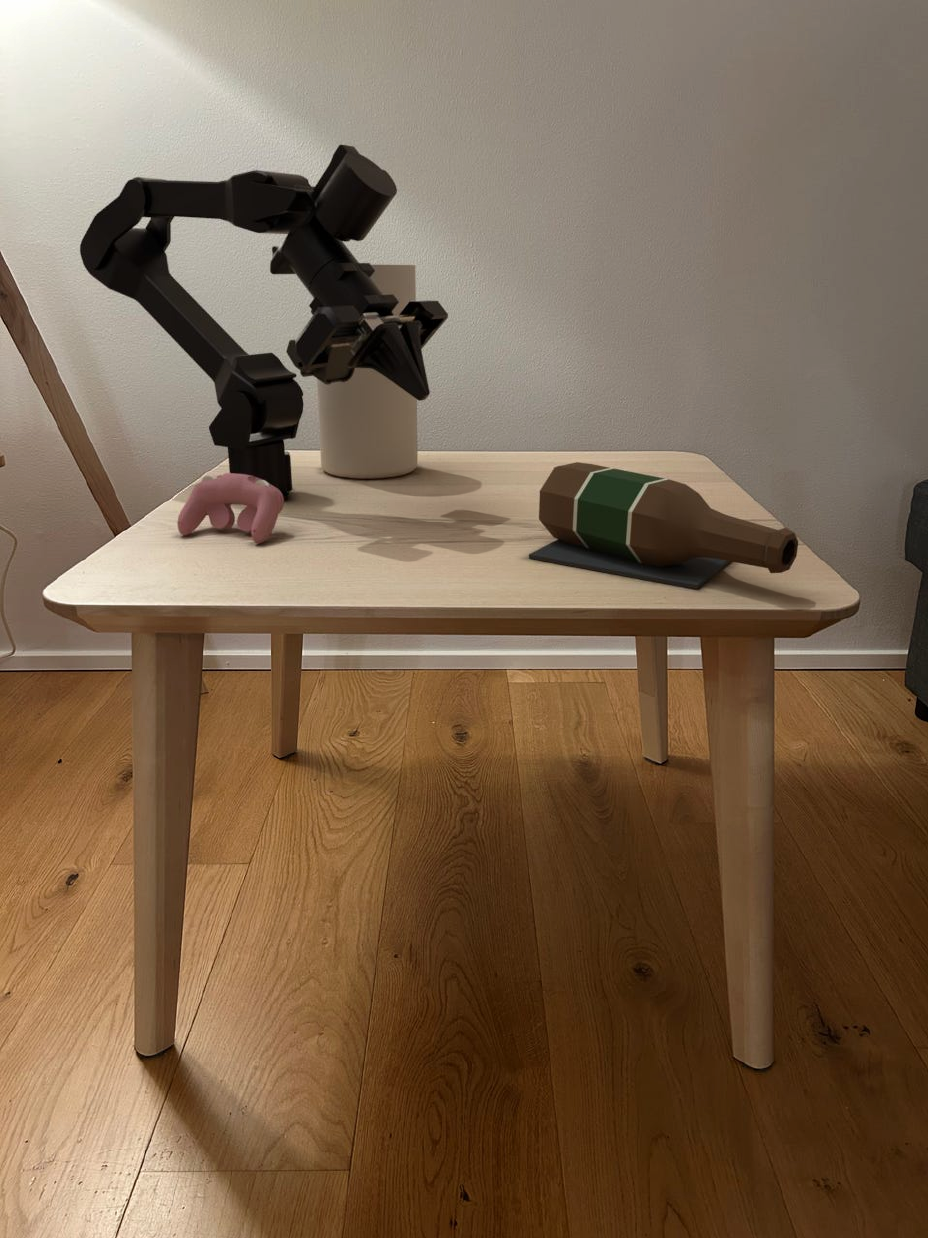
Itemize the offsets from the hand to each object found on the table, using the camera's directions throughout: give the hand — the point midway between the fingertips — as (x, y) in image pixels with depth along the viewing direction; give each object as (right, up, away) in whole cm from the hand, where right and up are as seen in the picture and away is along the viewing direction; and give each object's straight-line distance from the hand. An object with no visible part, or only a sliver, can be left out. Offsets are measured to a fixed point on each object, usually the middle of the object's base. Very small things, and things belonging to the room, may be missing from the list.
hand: (425, 397), depth 93 cm
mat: (+20, -16, -5) cm, 26 cm away
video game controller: (-19, -14, +1) cm, 23 cm away
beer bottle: (+13, -10, -1) cm, 17 cm away
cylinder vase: (-8, -3, +30) cm, 31 cm away
